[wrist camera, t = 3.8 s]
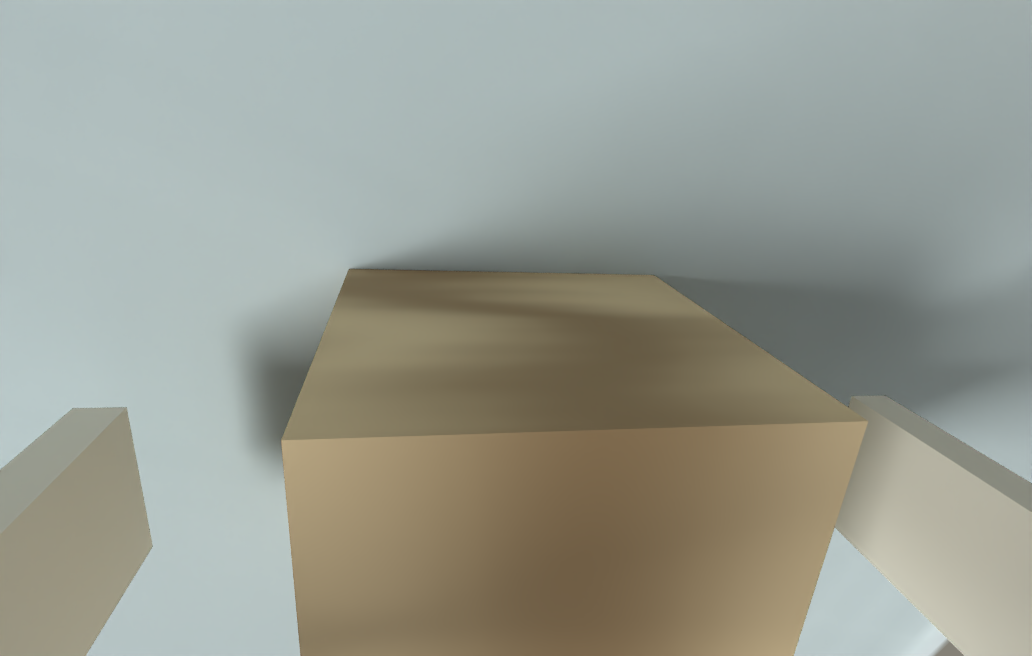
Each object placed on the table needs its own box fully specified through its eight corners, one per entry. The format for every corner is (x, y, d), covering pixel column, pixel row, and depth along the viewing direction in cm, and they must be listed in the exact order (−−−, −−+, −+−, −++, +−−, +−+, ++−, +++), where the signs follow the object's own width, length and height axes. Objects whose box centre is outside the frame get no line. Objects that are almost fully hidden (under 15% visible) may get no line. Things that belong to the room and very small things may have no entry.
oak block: (359, 529, 13) (318, 854, 7) (349, 267, 11) (280, 440, 5) (615, 513, 14) (752, 785, 8) (652, 273, 12) (868, 421, 6)
